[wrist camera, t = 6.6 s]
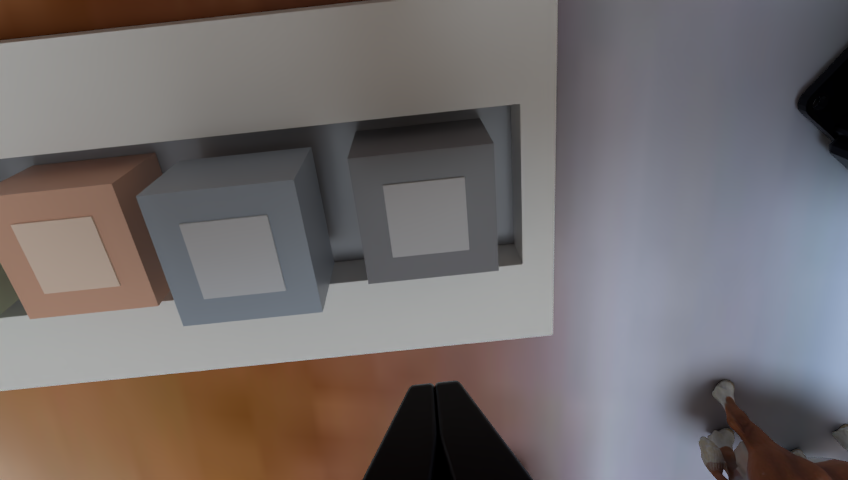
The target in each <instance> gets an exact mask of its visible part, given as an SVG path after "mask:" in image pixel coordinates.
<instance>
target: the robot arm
mask: <svg viewBox="0 0 848 480" xmlns="http://www.w3.org/2000/svg"><path fill="white" fill-rule="evenodd" d="M818 97H820V100H819V103H818V104H817V106H815V107H814V108H813V103H814V101H815V100H816V99H817V98H818ZM798 109H799V111H800V112H801V113H802V114H803V115H804V116H805V117H806V118H807V119H808V120H809V121H811V122H812V123H813V124H814V125H815V126H816V127H817V128H818V129H819V130H821V131H822V132H823V133H824V134H825V135H826V136H827V137H828V138H830V139H831V140H832V142H831V143H830V144H829V152H830V154H831V155H833V156H834V157H835V158H836V159H837V160H838V161H839V162H841V163H842V164H843V165H844V166H845V167H846V168H847V169H848V48H847V49H846V50H845V51H844V52H843V53H842V54H841V55H840V56H839V57H838V58H837V59H836V60H835V61H834V62H833V63H832V64H831V65H830V66H829V67H828V68H827V69H826V70H825V71H824V72H823V73H822V75H821V76H820V77H819V78H818V79H817V80H816V81H815V82H814V83H813V84H812V85H811V86H810V87H809V88H808V89H807V90H806V91H805V92H804V93H803V95H802V96H801V97H800V99H799V102H798ZM363 480H533V479H532V478H531V476H530V475H529V474H528V472H527V471H526V470H525V468H524V467H523V466H522V464H521V463H520V462H519V460H518V459H517V458H516V456H515V455H514V454H513V452H512V451H511V450H510V448H509V447H508V446H507V444H506V443H505V442H504V440H503V439H502V438H501V436H500V435H499V434H498V432H497V431H496V430H495V428H494V427H493V426H492V424H491V423H490V422H489V421H488V419H487V418H486V417H485V415H484V414H483V413H482V411H481V410H480V409H479V407H478V406H477V405H476V403H475V402H474V401H473V399H472V398H471V397H470V395H469V394H468V393H467V391H466V390H465V389H464V387H463V386H462V385H461V383H460V382H458V381H447V382H439V383H437V384H436V385H435V387H434V385H433V384H431V383H428V384H419V385H412V386H411V387H410V388H409V389H408V391H407V393H406V395H405V397H404V399H403V401H402V403H401V405H400V407H399V409H398V411H397V413H396V415H395V417H394V419H393V421H392V423H391V425H390V426H389V428H388V430H387V432H386V434H385V436H384V438H383V440H382V442H381V444H380V446H379V448H378V450H377V452H376V454H375V456H374V458H373V460H372V462H371V464H370V466H369V468H368V470H367V472H366V474H365V476H364V478H363Z"/></svg>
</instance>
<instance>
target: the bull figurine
mask: <svg viewBox="0 0 848 480" xmlns="http://www.w3.org/2000/svg"><path fill="white" fill-rule="evenodd" d="M733 394H734V384H733V383H732V382H731V381H728V380H724V381H721V382H720V383H719V384H718V385H717V386H716V387H715V390H714V391H713V392H712V395H713V397H714V398H715V399H716V400H717V401H718V402H719V403H720V404H722V406H723V407H724V410H725V412H726V415H727V423H728V425H729V426H730V427H731V428H732V429H733V430H734V431H735V432H736V433H737V434H738V435H739V436H740V438H741V439H742V440H743V442H740V443H739V445H738V446H737V447H736V449H735V450H734V452H733V447H732V445H733V443H734V439H735V437H734V432H733V430H731V429H729V428H725V429H722V430H720V431H716V430H714V431H713V433H712V434H711V435H709V436H708V438H706V437H701V438H700V441H699V446H700V449H701V457H702V460H703V462H704V464H705V466H706V467H707V469H708V470H709V471H710V472H711V473H712V475H713V476H714V477H715V478H716V479H717V480H728V479H726V478H725V477H724V476H723V475H722V473H723V469H724V470H725V471H726V473H727V474H728V477H729V480H848V462H846V461H841V460H836V459H829V458H816V457H813V458H808V459H807V458H806V456H805V455H804V453H803V452H802V450H800V449H794V450H793V451H791V452H790V451H788V450H786V449H785V448H783V447H781V446H780V445H778V444H777V443H775V442H774V441H773V440H772V439H771V438H770V437H769V436H768V435H766V434H765V433H764V432H763V431H762V430H761V429H760V428H759V427H758V426H757V425H755V424H754V423H753V422H752V421H750V419H749V418H748V416H747V415H746V414H745V413H744V411H742V410H741V409H740V408H739V407H738V406H737V405H736V403H735V400H734V396H733ZM832 434H833V437H834V438H835V439H836V440H837V441H838V442H839V443H840V445H841V446H842V447H844V448H845V449H846V450H847V451H848V424H845V425H843V426H841V427H840V428H839V429H838V430H836V431H834V432H833V433H832Z"/></svg>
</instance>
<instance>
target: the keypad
mask: <svg viewBox="0 0 848 480" xmlns="http://www.w3.org/2000/svg"><path fill="white" fill-rule="evenodd" d="M557 25H558V0H367V1H358V2H349V3H340V4H330V5H321V6H312V7H303V8H294V9H284V10H275V11H266V12H257V13H248V14H238V15H229V16H220V17H211V18H201V19H192V20H183V21H174V22H165V23H155V24H146V25H137V26H128V27H119V28H109V29H100V30H91V31H82V32H73V33H63V34H54V35H45V36H36V37H26V38H17V39H8V40H0V182H1V181H3V180H5V179H7V178H9V177H11V176H13V175H15V174H17V173H19V172H21V171H23V170H25V169H27V168H29V167H31V166H34V165H43V164H53V163H62V162H72V161H81V160H90V159H100V158H109V157H119V156H128V155H138V154H147V153H156V156H157V159H158V162H159V165H160V168H161V171H162V174H163V173H165V172H166V171H167V170H168V169H170V168H171V167H172V166H173V165H174V164H176V163H177V162H178V161H183V160H192V159H201V158H211V157H220V156H230V155H239V154H249V153H258V152H268V151H277V150H287V149H296V148H306V147H311V148H312V153H313V158H314V163H315V168H316V173H317V178H318V183H319V188H320V193H321V198H322V203H323V208H324V214H325V219H326V224H327V229H328V234H329V239H330V244H331V249H332V254H333V259H334V267H333V271H332V276H331V280H330V284H329V288H328V292H327V297H326V301H325V305H324V309H323V312H319V313H309V314H299V315H290V316H280V317H270V318H260V319H250V320H241V321H231V322H221V323H211V324H202V325H192V326H183V324H182V321H181V318H180V315H179V313H178V310H177V307H176V305H175V302H174V299H173V296H172V294H171V291H169V293H168V294H167V295H166V297H165V298H164V299H163V301H162V302H161V303H160V305H159V306H154V307H144V308H134V309H125V310H115V311H105V312H95V313H86V314H76V315H66V316H56V317H47V318H37V319H30V318H29V316H28V315H27V313H26V311H25V309H24V307H23V305H22V303H21V301H20V299H19V300H17V301H16V302H15V303H14V304H13V305H11V306H10V307H9V308H8V309H7V310H6V311H4V312H3V313H2V314H1V315H0V391H5V390H15V389H25V388H35V387H45V386H55V385H65V384H75V383H84V382H94V381H104V380H114V379H124V378H134V377H144V376H154V375H163V374H173V373H183V372H193V371H203V370H213V369H223V368H233V367H242V366H252V365H262V364H272V363H282V362H292V361H302V360H311V359H321V358H331V357H341V356H351V355H361V354H371V353H381V352H390V351H400V350H410V349H420V348H430V347H440V346H450V345H460V344H469V343H479V342H489V341H499V340H509V339H519V338H529V337H539V336H548V335H553V294H554V227H555V160H556V93H557ZM477 118H480V119H481V121H482V123H483V124H484V126H485V128H486V130H487V132H488V134H489V135H490V137H491V139H492V141H493V143H494V160H495V186H496V211H497V237H498V263H499V271H491V272H481V273H472V274H462V275H452V276H442V277H433V278H423V279H413V280H403V281H394V282H384V283H374V284H368V278H367V272H366V266H365V260H364V254H363V248H362V242H361V237H360V231H359V225H358V219H357V213H356V207H355V201H354V195H353V189H352V183H351V177H350V171H349V165H348V159H347V158H348V155H349V152H350V148H351V145H352V142H353V139H354V135H355V132H356V131H363V130H373V129H382V128H392V127H401V126H410V125H420V124H429V123H439V122H448V121H458V120H467V119H477Z"/></svg>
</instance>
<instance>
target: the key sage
mask: <svg viewBox="0 0 848 480" xmlns="http://www.w3.org/2000/svg"><path fill="white" fill-rule="evenodd" d="M17 300H19V297H18V295H17V294H16V292H15V290H14V288H13V286H12V284H11V282H10V280H9V278H8V276H7V274H6V272H5V271H4V269H3V267H2V265H1V263H0V315H1V314H2V313H3V312H4V311H6V310H7V309H8V308H9V307H10V306H11V305H13V304H14V303H15V302H16V301H17Z"/></svg>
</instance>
